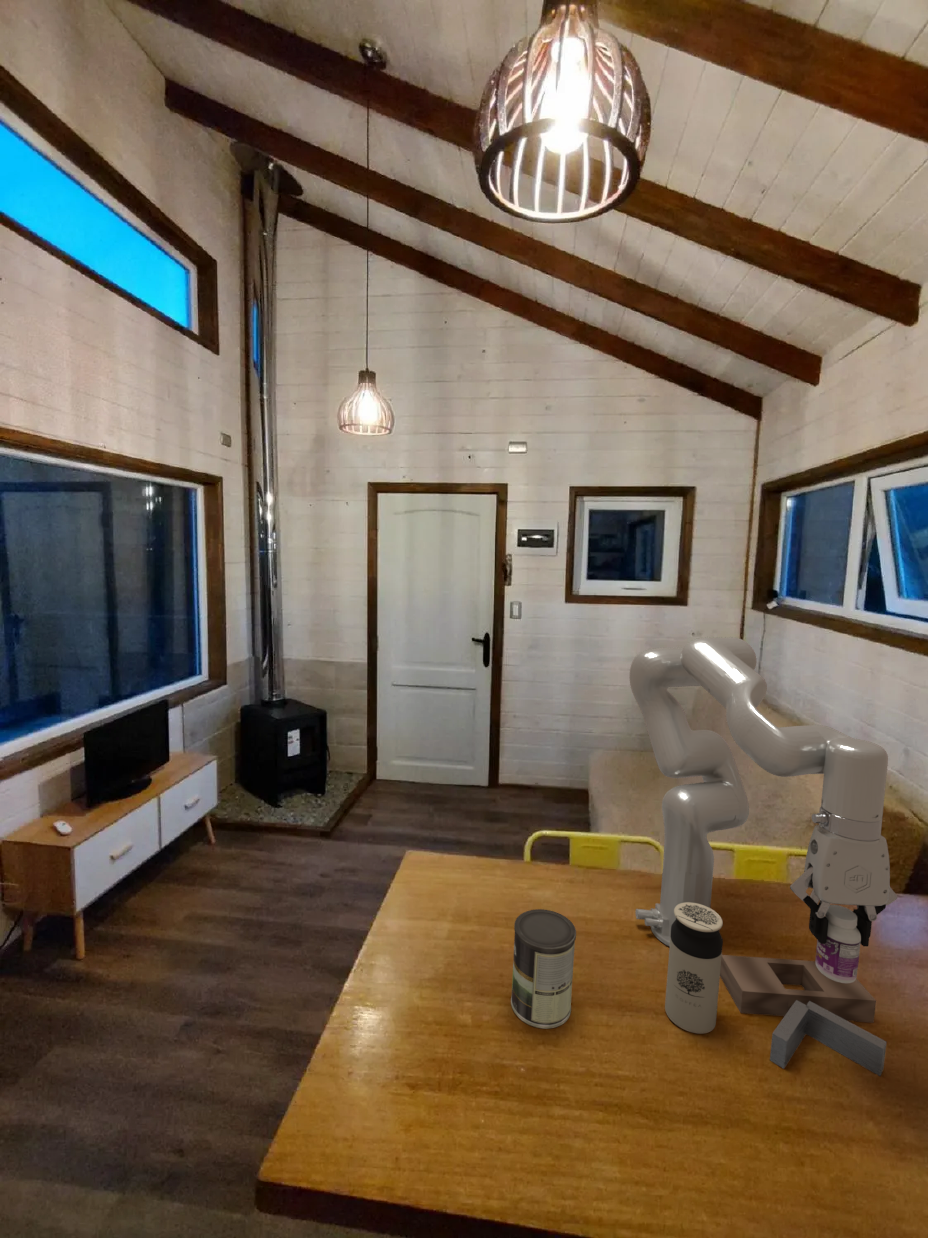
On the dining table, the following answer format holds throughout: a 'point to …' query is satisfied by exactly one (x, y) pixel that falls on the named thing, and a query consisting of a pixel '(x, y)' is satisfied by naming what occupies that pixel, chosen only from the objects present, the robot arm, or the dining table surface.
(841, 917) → the pill bottle
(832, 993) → the wooden block with hole
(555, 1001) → the coffee can
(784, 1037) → the v block
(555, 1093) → the dining table surface
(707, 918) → the travel mug
